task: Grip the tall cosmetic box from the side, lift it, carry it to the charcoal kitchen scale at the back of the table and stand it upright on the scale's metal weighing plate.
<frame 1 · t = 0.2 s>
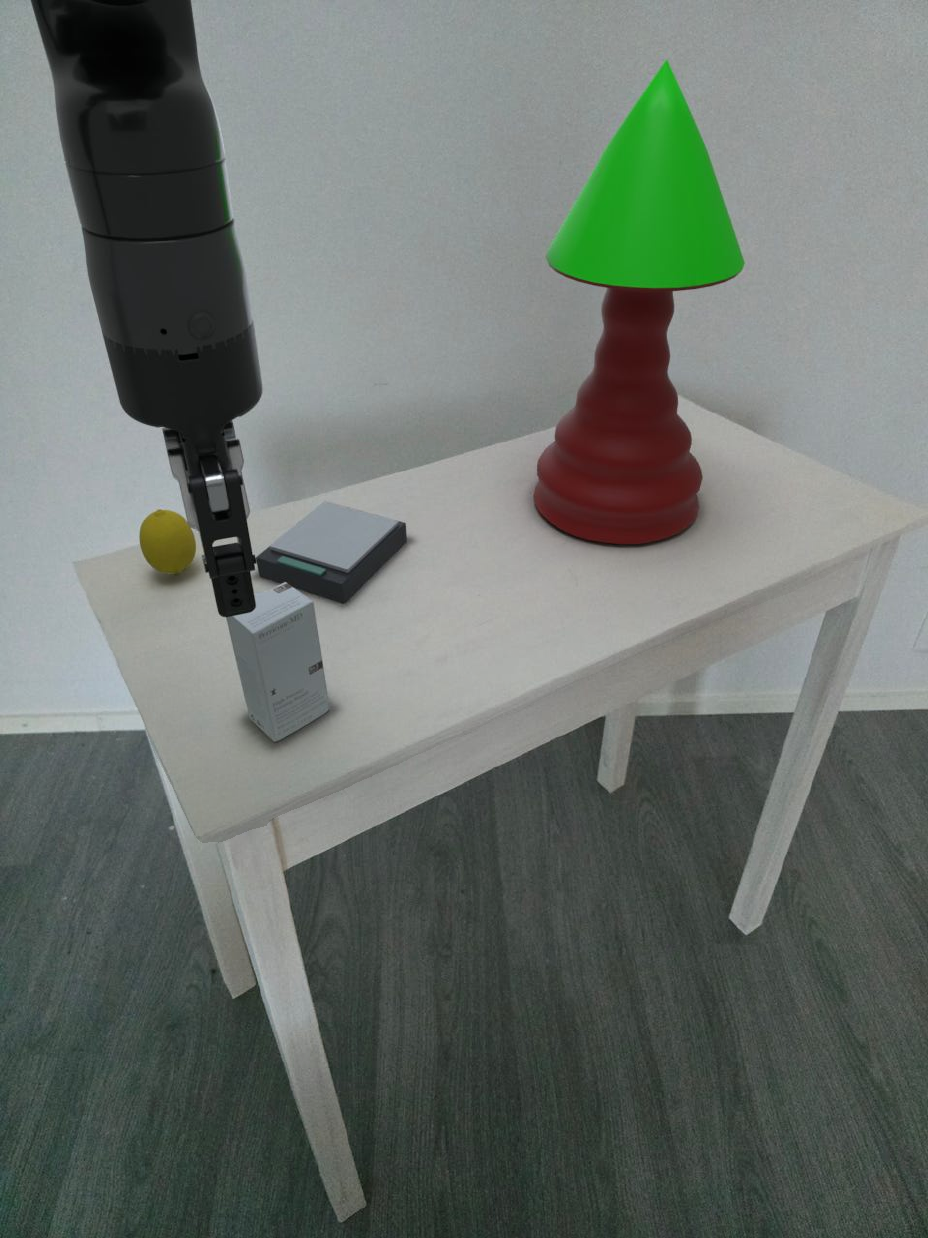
hand: (226, 571, 53), 22 cm above the table, tool pointing down, fingers open, 8 cm apart
lemon: (177, 574, 91), on the table
table lamp: (614, 503, 102), on the table
cosmetic box: (290, 715, 74), on the table
scale: (335, 558, 93), on the table
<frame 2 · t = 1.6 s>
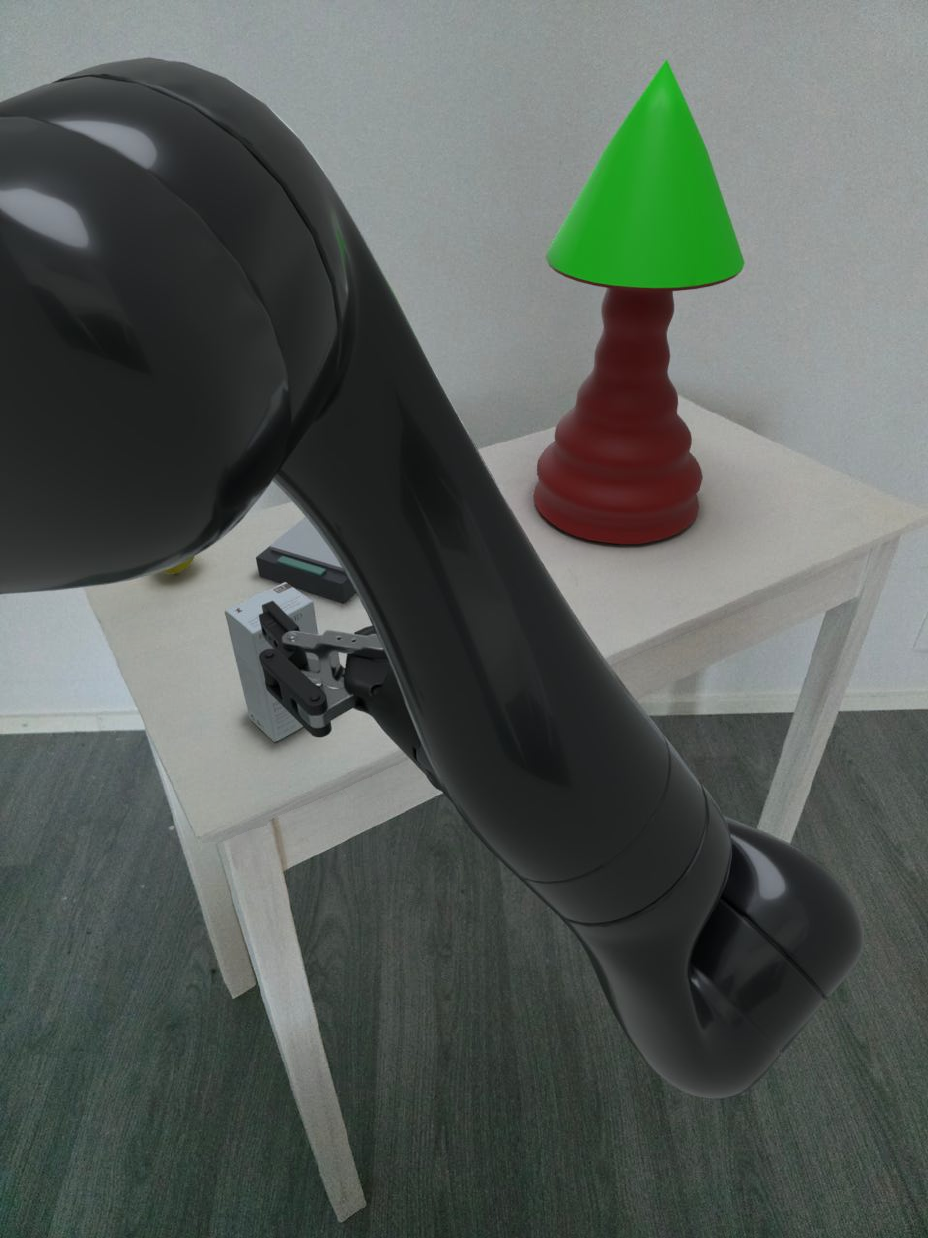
hand: (327, 588, 55), 20 cm above the table, tool horizontal, fingers open, 8 cm apart
nothing on the table moved.
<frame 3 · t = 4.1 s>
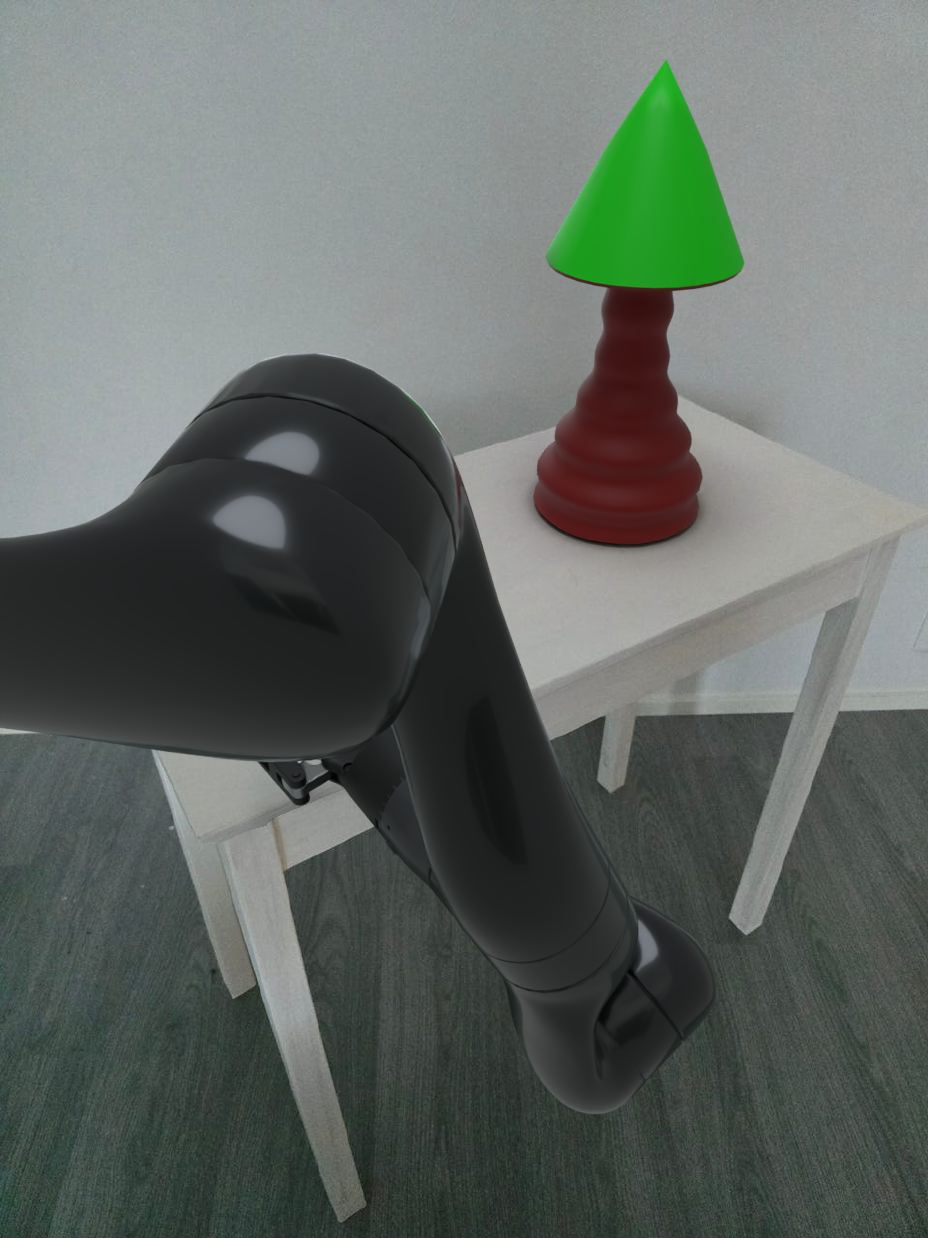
hand: (310, 668, 64), 10 cm above the table, tool horizontal, fingers open, 8 cm apart
nothing on the table moved.
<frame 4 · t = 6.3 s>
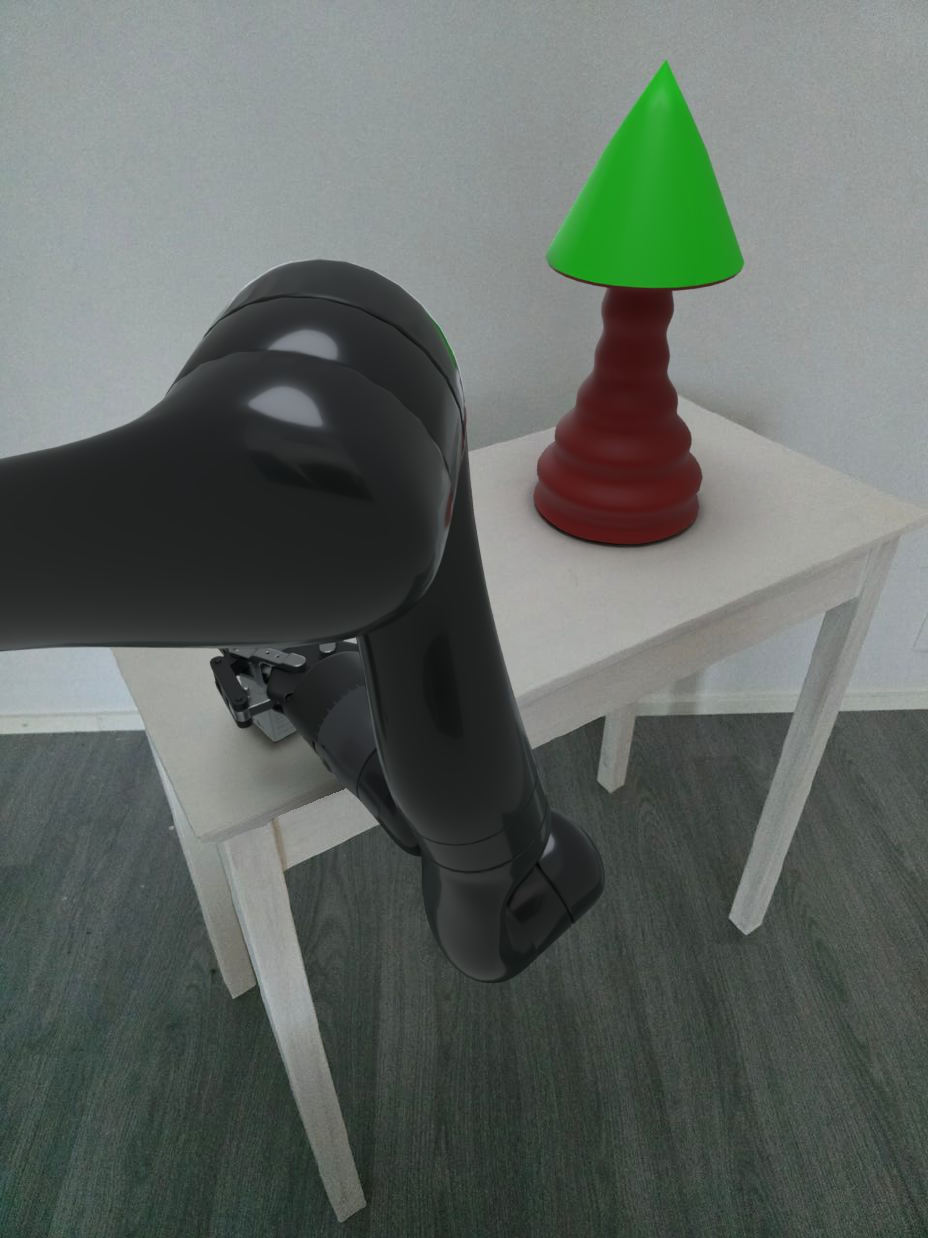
hand: (260, 612, 69), 10 cm above the table, tool horizontal, fingers closed on cosmetic box, 6 cm apart
cosmetic box: (290, 715, 74), on the table, touching gripper
everything else where it was.
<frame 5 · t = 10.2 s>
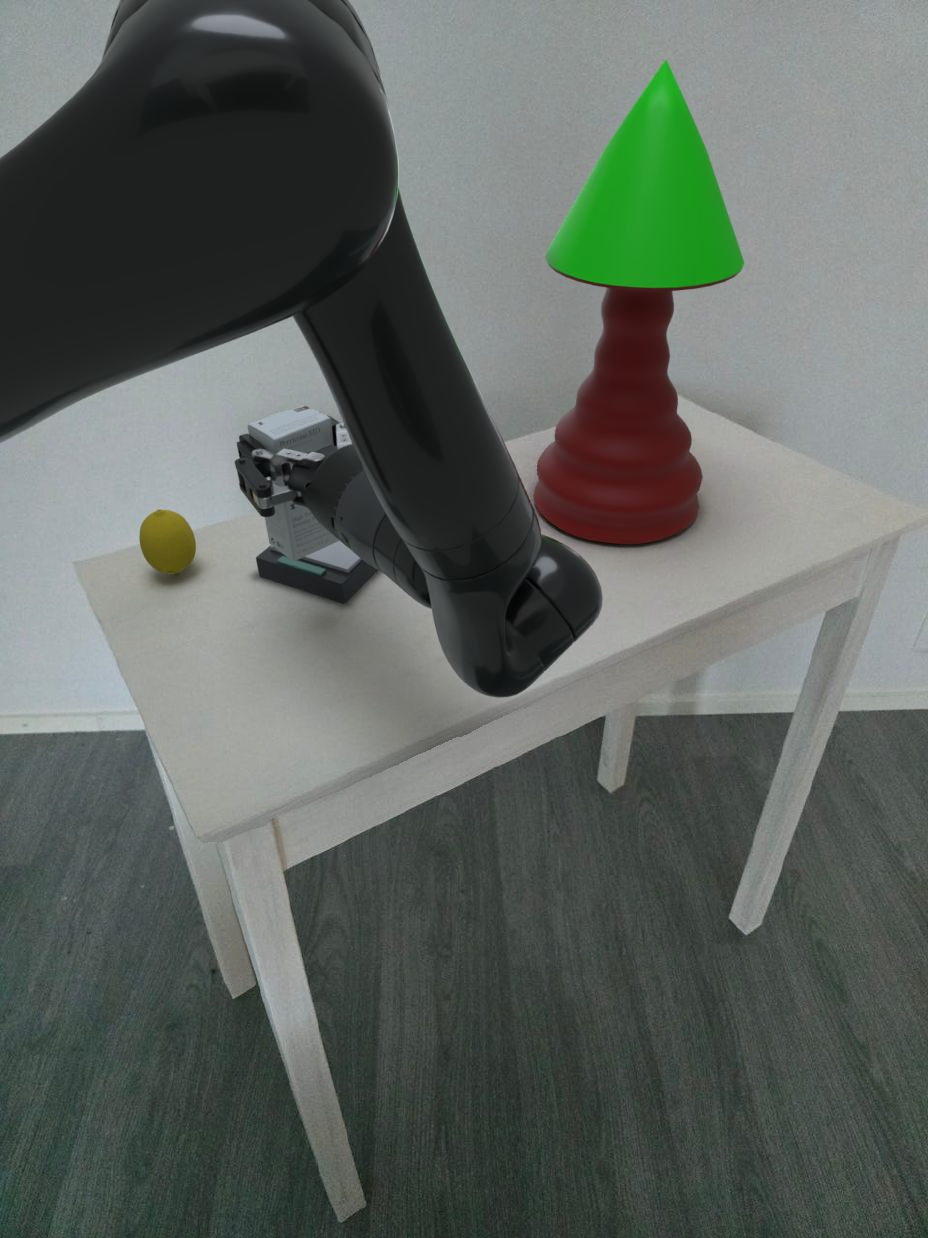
hand: (280, 433, 73), 20 cm above the table, tool horizontal, fingers closed on cosmetic box, 6 cm apart
cosmetic box: (308, 542, 78), point 9 cm above the table, touching gripper
everything else where it was.
when the fingers open (13 cm above the table, at t = 14.0 s): cosmetic box stays where it is, resting on scale.
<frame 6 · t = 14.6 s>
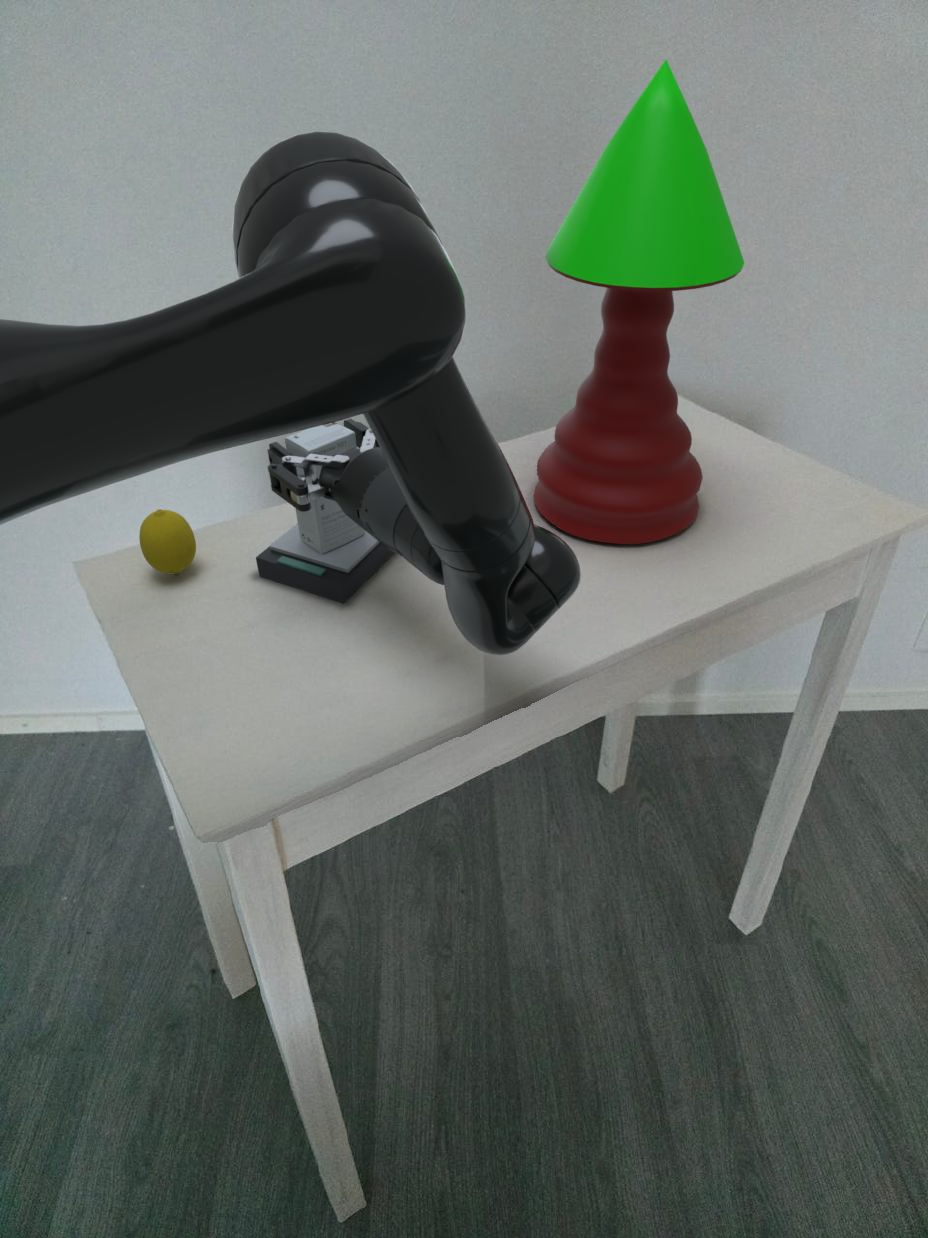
hand: (310, 439, 85), 14 cm above the table, tool horizontal, fingers open, 8 cm apart
cosmetic box: (333, 537, 91), point 3 cm above the table, touching scale
everything else where it was.
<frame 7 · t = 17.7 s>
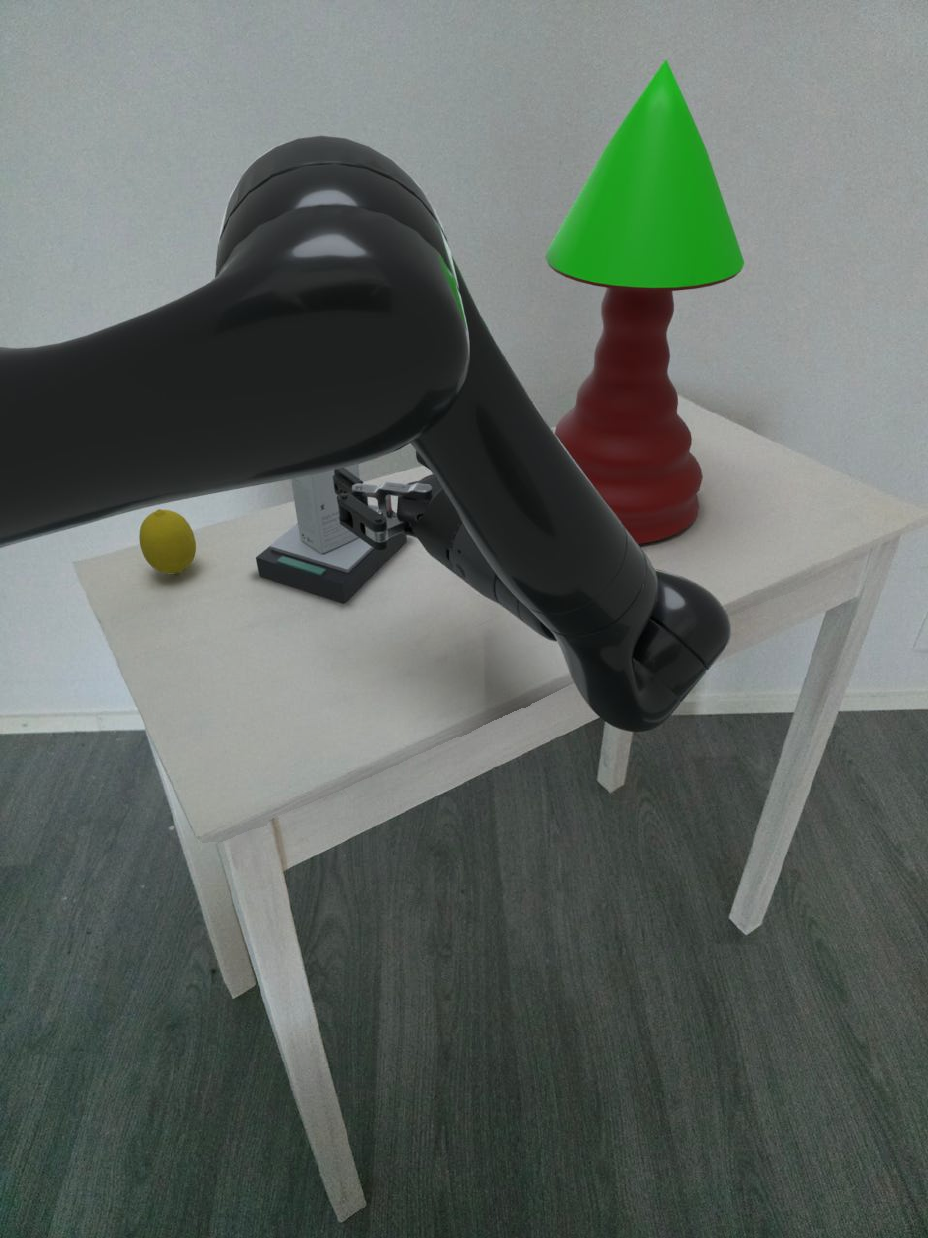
hand: (379, 462, 75), 17 cm above the table, tool horizontal, fingers open, 8 cm apart
nothing on the table moved.
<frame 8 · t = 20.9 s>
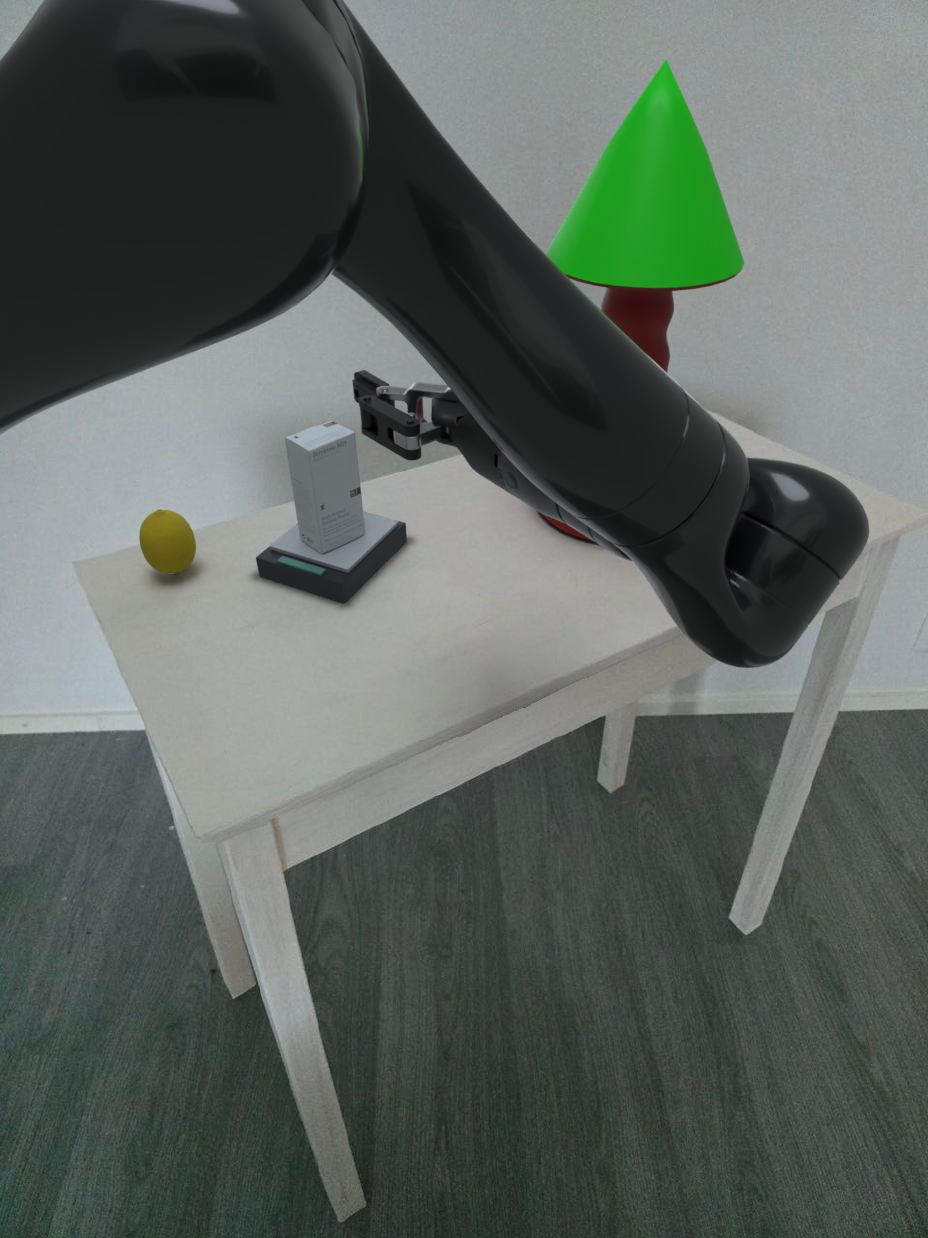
hand: (406, 369, 63), 28 cm above the table, tool horizontal, fingers open, 8 cm apart
nothing on the table moved.
at the end: cosmetic box inside the target area on the scale (0.7 cm from its centre), point 2.8 cm above the scale's base; cosmetic box tilted 0°; the gripper is holding nothing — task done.
